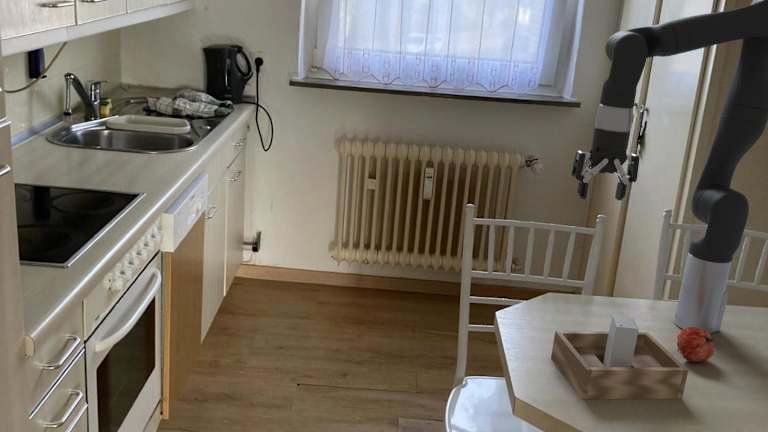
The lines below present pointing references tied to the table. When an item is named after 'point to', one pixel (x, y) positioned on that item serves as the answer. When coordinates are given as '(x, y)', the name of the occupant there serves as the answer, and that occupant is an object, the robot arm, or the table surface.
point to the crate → (618, 368)
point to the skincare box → (621, 342)
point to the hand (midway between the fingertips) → (600, 198)
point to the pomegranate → (695, 344)
